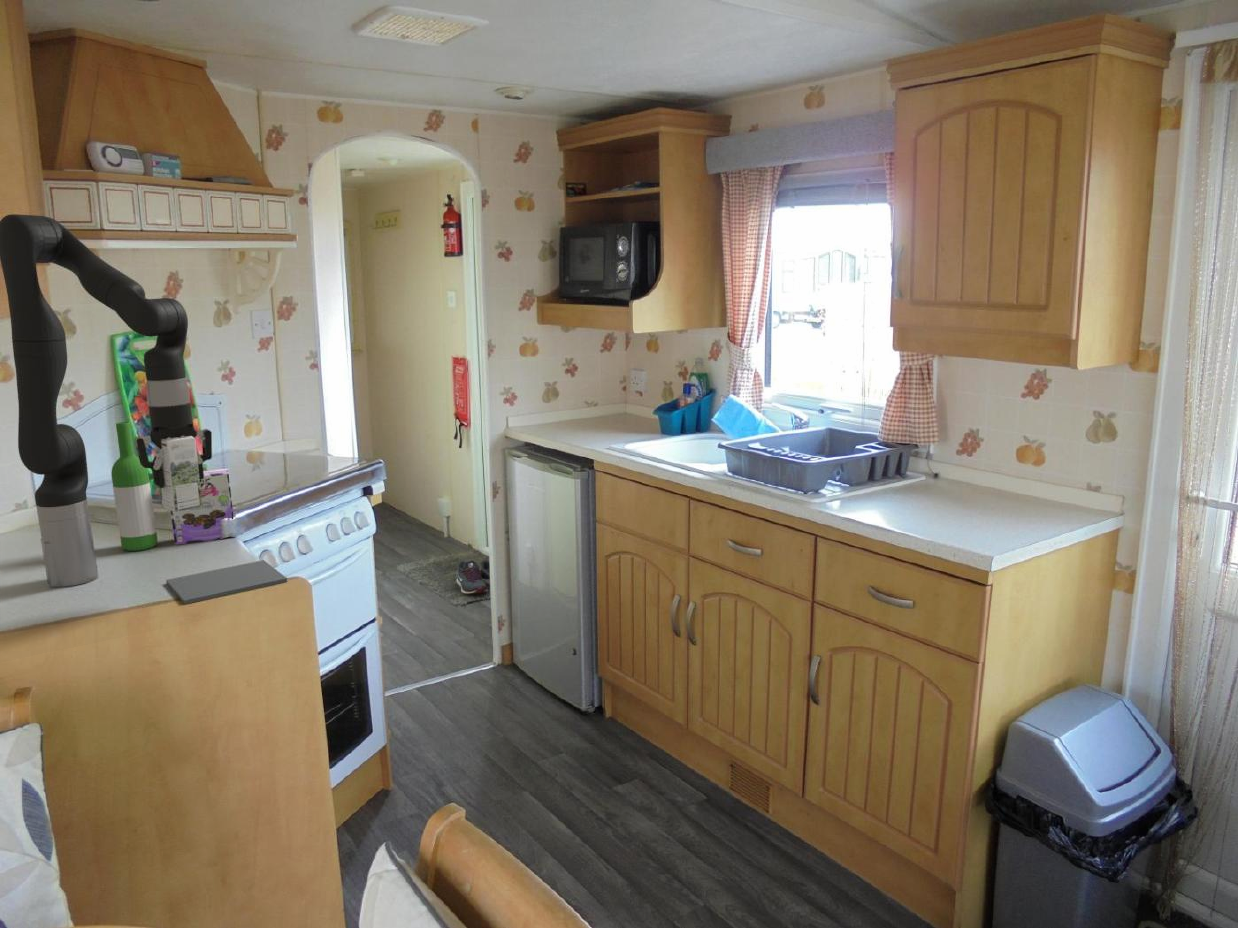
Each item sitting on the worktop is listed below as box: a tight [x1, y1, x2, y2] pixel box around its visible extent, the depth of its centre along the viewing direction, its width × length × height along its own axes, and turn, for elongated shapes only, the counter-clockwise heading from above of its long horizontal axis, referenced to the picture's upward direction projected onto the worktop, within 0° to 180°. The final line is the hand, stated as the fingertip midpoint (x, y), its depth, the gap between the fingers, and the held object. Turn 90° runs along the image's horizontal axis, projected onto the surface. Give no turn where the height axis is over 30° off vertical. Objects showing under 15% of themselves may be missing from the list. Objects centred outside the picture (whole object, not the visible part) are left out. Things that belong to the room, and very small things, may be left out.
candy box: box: [169, 468, 235, 546], centre depth 227 cm, size 14×6×16 cm, turn 114°
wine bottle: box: [111, 421, 158, 552], centre depth 220 cm, size 8×8×30 cm
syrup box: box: [153, 436, 202, 512], centre depth 187 cm, size 6×6×14 cm
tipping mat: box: [166, 559, 288, 605], centre depth 196 cm, size 20×16×1 cm
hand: (179, 484), depth 188 cm, fingers closed on syrup box, 6 cm apart
